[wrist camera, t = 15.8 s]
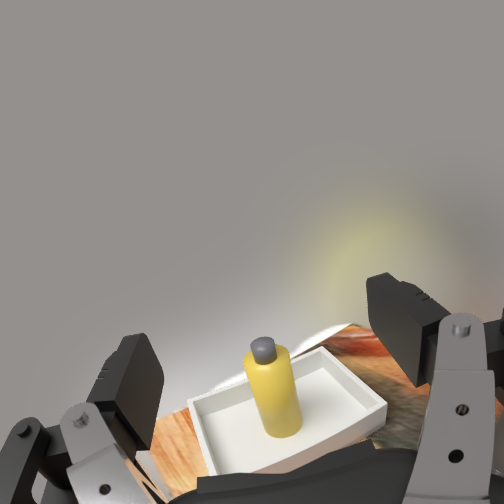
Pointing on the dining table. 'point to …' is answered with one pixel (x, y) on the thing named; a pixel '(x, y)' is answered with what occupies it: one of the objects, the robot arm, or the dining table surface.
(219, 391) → the tray
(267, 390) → the squeeze bottle
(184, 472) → the dining table surface
